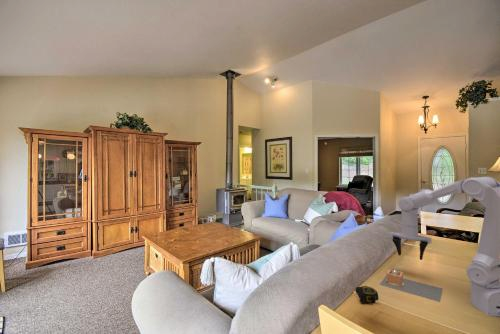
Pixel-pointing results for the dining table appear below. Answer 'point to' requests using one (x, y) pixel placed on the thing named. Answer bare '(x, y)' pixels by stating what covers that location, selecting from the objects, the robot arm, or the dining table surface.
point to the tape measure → (367, 294)
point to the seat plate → (416, 289)
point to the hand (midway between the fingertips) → (410, 256)
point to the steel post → (394, 271)
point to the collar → (394, 277)
